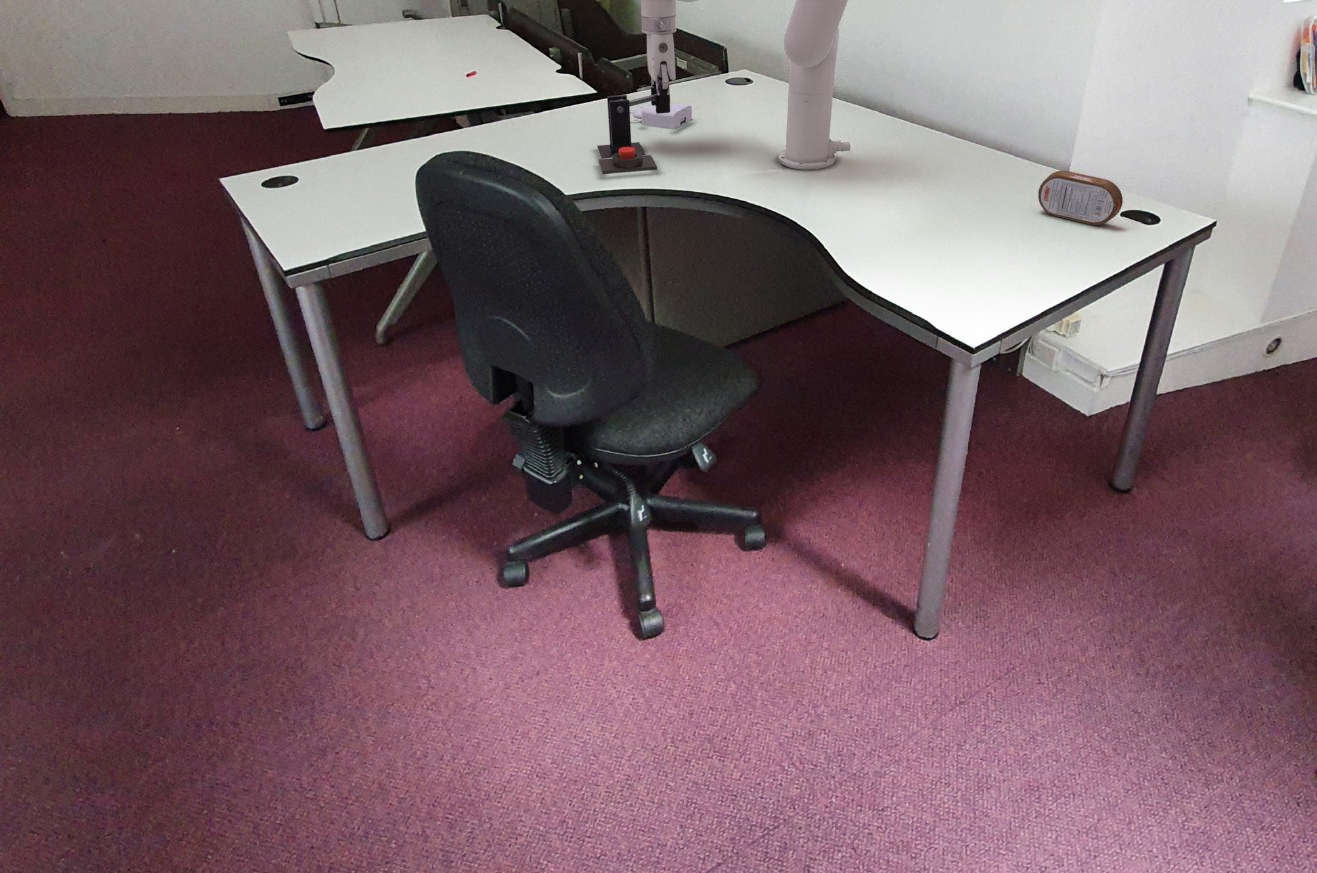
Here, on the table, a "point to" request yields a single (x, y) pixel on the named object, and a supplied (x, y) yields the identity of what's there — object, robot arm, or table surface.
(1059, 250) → the table surface
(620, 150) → the button
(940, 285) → the table surface
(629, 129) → the bracket
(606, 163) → the control block
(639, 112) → the charger
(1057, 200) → the tin
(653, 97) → the lever
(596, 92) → the table surface
